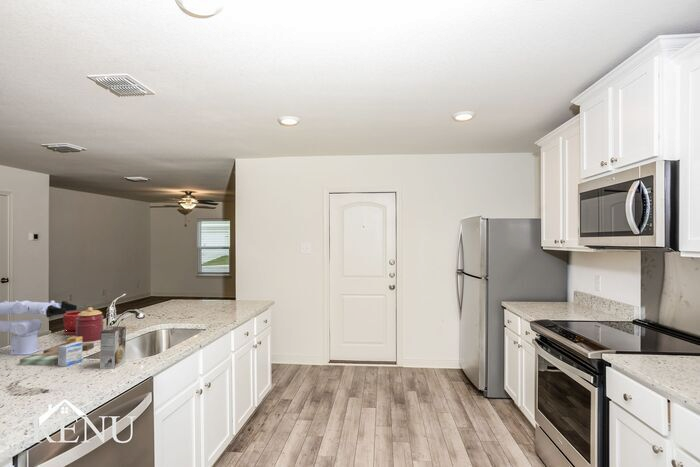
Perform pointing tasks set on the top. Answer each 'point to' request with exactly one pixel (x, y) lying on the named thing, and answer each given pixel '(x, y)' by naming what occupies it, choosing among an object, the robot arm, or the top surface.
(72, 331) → the plant pot
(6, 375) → the top surface
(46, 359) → the wooden slab structure
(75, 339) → the block
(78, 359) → the medicine box
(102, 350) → the coffee box
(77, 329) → the canister
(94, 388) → the top surface
